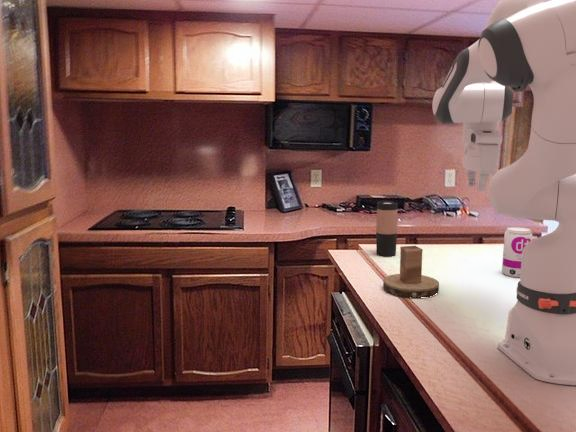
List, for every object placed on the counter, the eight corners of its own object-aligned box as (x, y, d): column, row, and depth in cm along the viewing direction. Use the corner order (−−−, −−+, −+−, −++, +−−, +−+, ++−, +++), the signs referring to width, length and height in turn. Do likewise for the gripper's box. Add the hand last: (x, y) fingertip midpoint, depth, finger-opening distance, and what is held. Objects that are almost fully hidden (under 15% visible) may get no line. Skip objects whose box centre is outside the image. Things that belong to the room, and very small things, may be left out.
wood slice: (445, 288, 150) (445, 278, 150) (428, 303, 137) (429, 293, 137) (394, 280, 159) (395, 270, 158) (374, 293, 146) (374, 283, 145)
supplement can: (532, 278, 158) (536, 232, 155) (504, 277, 159) (507, 231, 157) (525, 271, 165) (529, 227, 163) (499, 270, 167) (502, 226, 165)
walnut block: (421, 282, 146) (422, 249, 144) (406, 284, 145) (407, 250, 143) (414, 278, 150) (415, 245, 149) (399, 279, 149) (400, 246, 148)
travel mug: (374, 256, 187) (375, 203, 184) (377, 251, 194) (378, 200, 191) (395, 257, 185) (397, 204, 181) (397, 253, 192) (398, 201, 189)
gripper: (458, 135, 143) (455, 183, 145) (478, 136, 123) (474, 192, 125) (481, 135, 142) (477, 184, 145) (505, 137, 122) (500, 193, 125)
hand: (476, 188), depth 135 cm, fingers open, 8 cm apart
